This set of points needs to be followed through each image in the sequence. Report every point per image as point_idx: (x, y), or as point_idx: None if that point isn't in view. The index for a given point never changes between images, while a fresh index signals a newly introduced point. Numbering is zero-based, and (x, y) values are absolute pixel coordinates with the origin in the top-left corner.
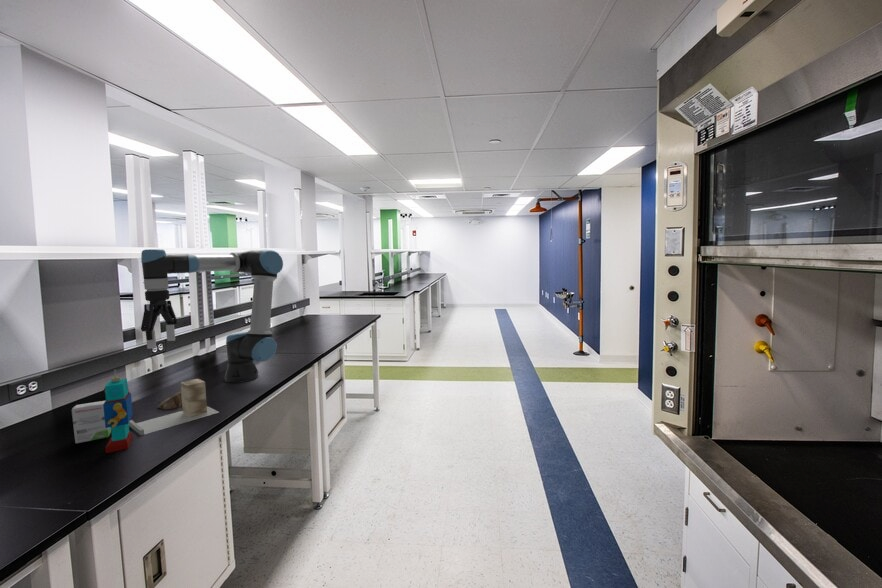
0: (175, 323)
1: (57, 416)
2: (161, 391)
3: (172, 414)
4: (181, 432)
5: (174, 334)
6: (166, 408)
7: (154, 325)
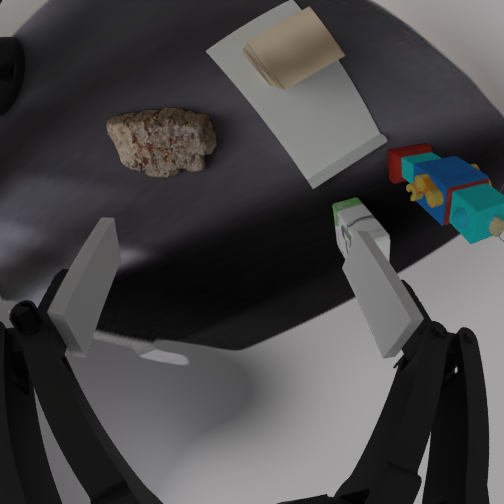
0: (34, 309)
1: (201, 327)
2: (70, 227)
3: (266, 109)
4: (391, 65)
5: (88, 245)
6: (216, 142)
7: (420, 361)
